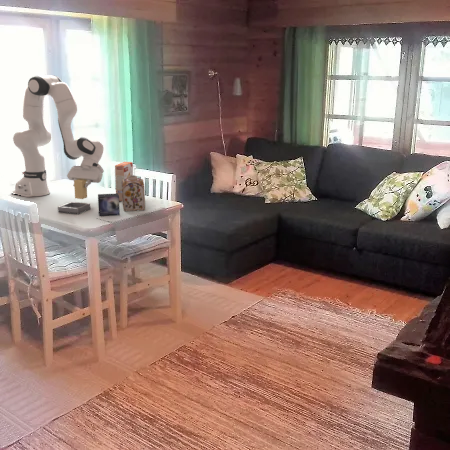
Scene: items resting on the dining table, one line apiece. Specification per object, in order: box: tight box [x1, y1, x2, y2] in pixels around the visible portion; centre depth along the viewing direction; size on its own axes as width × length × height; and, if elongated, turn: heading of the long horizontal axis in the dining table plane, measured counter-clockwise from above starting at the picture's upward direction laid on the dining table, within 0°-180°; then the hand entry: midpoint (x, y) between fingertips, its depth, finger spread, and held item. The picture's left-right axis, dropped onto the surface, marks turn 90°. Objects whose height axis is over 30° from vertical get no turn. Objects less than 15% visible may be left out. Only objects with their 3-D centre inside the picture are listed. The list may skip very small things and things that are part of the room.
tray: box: [57, 201, 91, 215], centre depth 289 cm, size 12×12×3 cm
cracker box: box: [114, 161, 134, 202], centre depth 314 cm, size 14×6×21 cm, turn 168°
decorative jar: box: [121, 174, 146, 212], centre depth 294 cm, size 12×12×18 cm
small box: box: [97, 193, 121, 217], centre depth 282 cm, size 11×6×10 cm, turn 107°
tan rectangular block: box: [73, 179, 88, 200], centre depth 303 cm, size 5×4×10 cm
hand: (79, 186), depth 302 cm, fingers closed on tan rectangular block, 5 cm apart
